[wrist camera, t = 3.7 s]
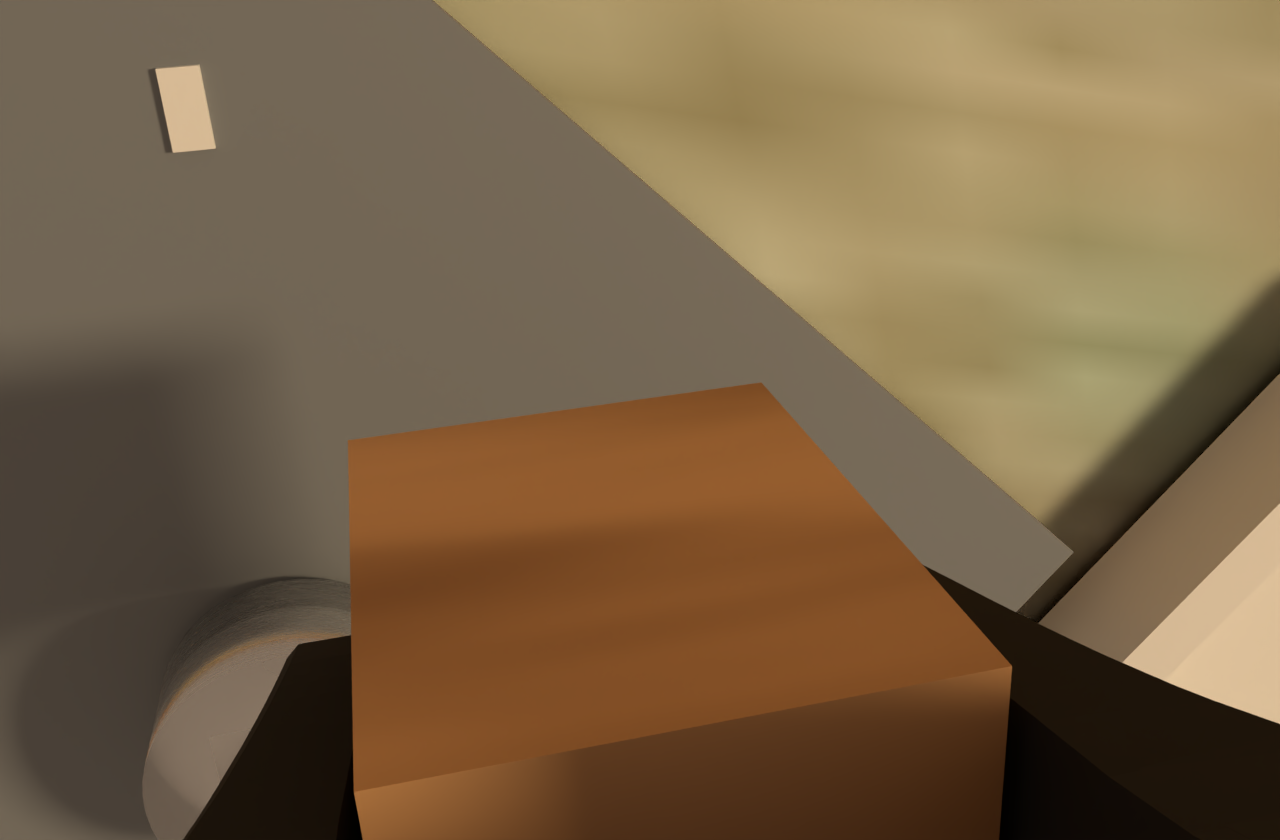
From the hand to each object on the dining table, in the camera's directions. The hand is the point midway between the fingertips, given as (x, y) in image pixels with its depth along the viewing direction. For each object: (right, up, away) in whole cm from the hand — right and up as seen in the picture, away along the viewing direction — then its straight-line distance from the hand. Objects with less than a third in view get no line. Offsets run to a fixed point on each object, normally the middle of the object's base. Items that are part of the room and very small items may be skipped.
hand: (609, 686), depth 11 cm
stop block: (0, +1, +1) cm, 2 cm away
